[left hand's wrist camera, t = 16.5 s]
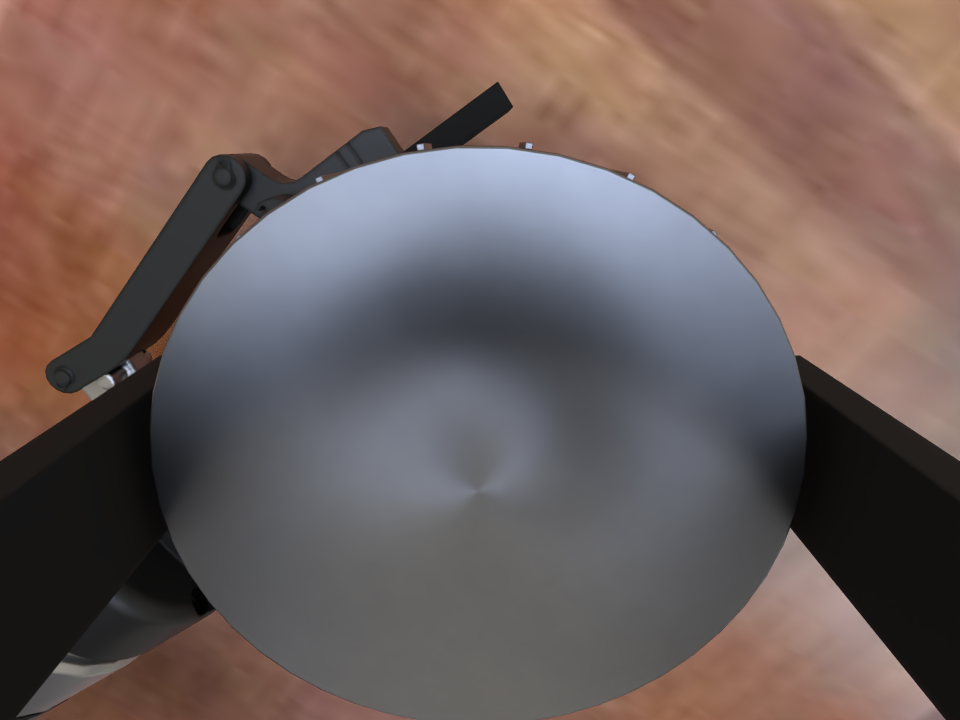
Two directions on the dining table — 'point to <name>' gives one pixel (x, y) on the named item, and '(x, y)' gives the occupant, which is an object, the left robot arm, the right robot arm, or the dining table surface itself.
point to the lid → (478, 434)
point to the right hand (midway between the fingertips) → (593, 245)
